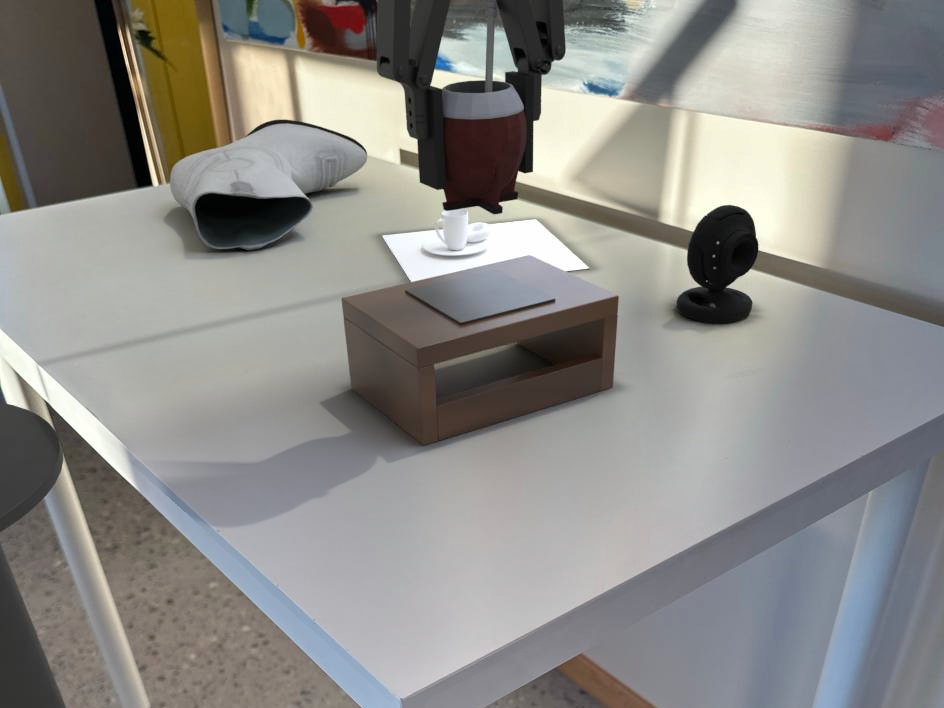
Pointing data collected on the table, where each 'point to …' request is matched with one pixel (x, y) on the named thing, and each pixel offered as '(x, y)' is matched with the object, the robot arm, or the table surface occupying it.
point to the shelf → (479, 343)
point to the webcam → (720, 265)
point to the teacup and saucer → (476, 246)
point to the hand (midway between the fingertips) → (476, 176)
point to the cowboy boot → (262, 181)
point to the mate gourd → (482, 137)
